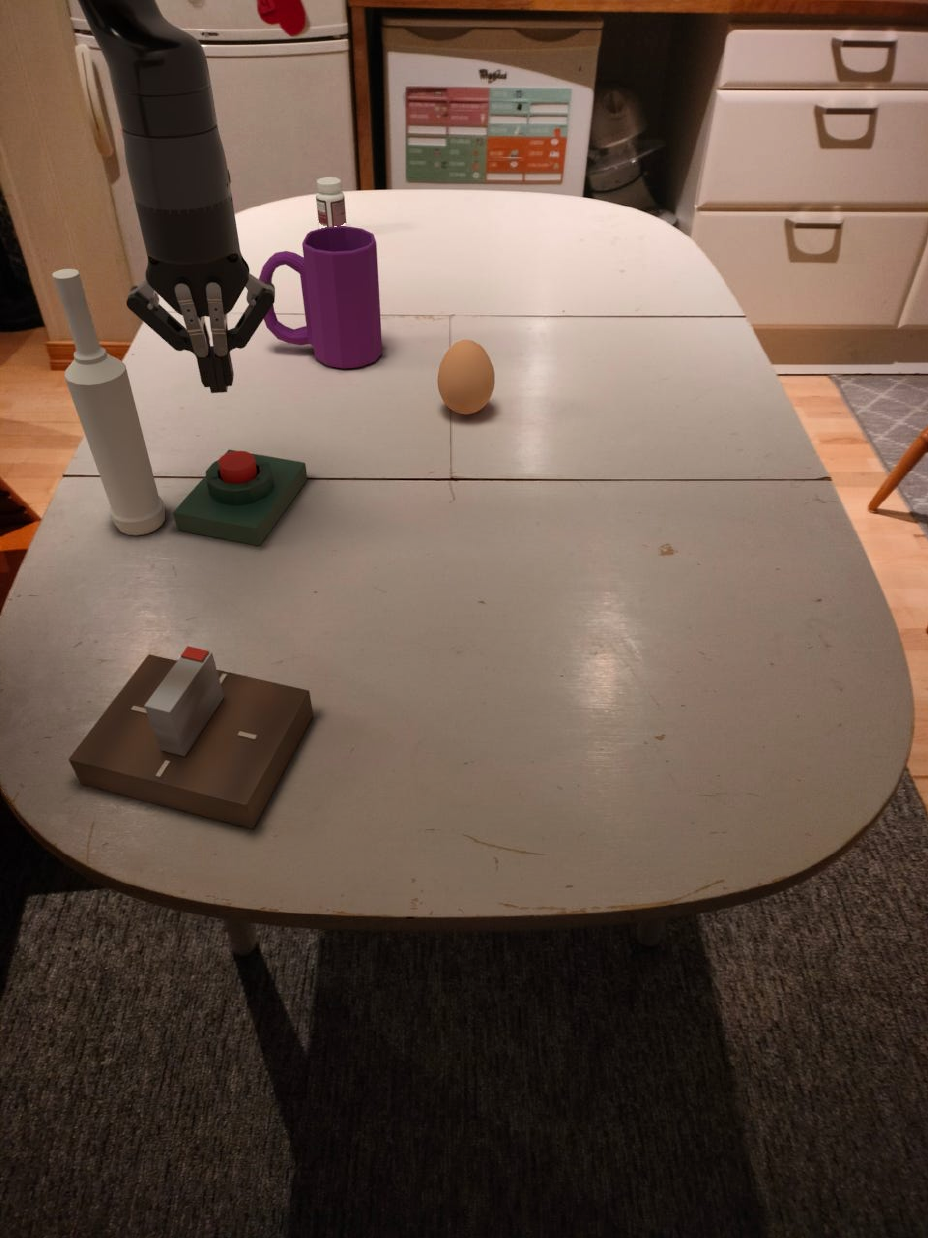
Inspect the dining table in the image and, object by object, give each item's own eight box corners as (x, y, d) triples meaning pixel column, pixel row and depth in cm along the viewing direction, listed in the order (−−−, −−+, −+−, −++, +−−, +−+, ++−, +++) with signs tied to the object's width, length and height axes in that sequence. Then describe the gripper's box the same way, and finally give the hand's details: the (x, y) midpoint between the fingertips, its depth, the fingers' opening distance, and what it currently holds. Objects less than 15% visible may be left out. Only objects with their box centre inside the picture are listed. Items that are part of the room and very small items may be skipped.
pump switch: (259, 546, 83) (253, 513, 81) (177, 530, 85) (168, 497, 82) (307, 479, 92) (303, 447, 89) (232, 466, 93) (225, 434, 91)
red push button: (247, 487, 84) (244, 472, 83) (214, 481, 85) (211, 466, 84) (263, 468, 87) (260, 453, 86) (231, 462, 87) (228, 447, 86)
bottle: (109, 513, 87) (27, 267, 69) (161, 500, 88) (93, 257, 71) (119, 542, 83) (36, 290, 66) (172, 528, 85) (104, 279, 68)
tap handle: (185, 757, 61) (168, 710, 57) (160, 750, 61) (142, 703, 58) (224, 696, 65) (211, 649, 61) (201, 691, 65) (187, 643, 62)
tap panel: (80, 784, 63) (67, 758, 61) (157, 678, 70) (148, 652, 68) (253, 829, 60) (246, 804, 58) (313, 715, 68) (309, 688, 66)
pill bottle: (348, 228, 147) (344, 175, 141) (346, 238, 144) (342, 184, 138) (320, 227, 147) (316, 175, 141) (317, 237, 144) (312, 184, 138)
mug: (378, 372, 110) (371, 254, 99) (259, 367, 110) (240, 249, 100) (386, 340, 116) (380, 226, 106) (274, 335, 117) (258, 221, 106)
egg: (494, 426, 100) (497, 355, 94) (437, 425, 100) (437, 354, 94) (492, 397, 105) (495, 328, 99) (437, 397, 105) (437, 328, 99)
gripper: (87, 207, 64) (142, 413, 76) (265, 203, 65) (291, 405, 77) (102, 176, 69) (151, 373, 81) (267, 173, 71) (291, 366, 83)
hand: (220, 388), depth 79 cm, fingers closed
